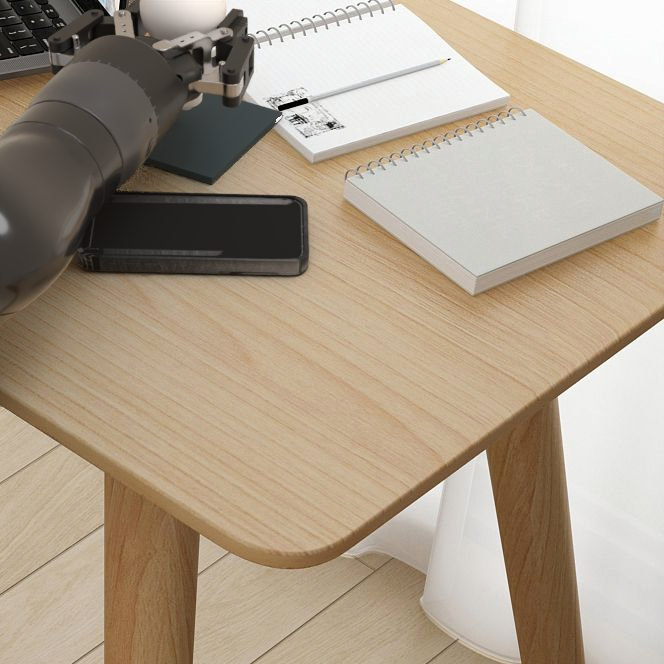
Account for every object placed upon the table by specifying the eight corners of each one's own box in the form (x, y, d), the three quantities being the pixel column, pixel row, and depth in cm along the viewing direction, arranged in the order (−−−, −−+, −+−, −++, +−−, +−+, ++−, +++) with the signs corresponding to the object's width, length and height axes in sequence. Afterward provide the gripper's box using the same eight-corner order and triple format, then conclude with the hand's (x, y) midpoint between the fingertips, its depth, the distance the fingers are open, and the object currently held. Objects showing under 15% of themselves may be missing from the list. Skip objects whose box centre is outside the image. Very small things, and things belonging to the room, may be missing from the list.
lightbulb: (226, 89, 93) (226, -50, 86) (226, 129, 88) (225, -15, 81) (147, 88, 92) (140, -52, 85) (141, 127, 87) (134, -17, 80)
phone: (89, 190, 82) (307, 195, 83) (90, 203, 83) (306, 208, 84) (74, 257, 76) (309, 262, 77) (75, 271, 77) (308, 276, 78)
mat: (83, 144, 89) (82, 137, 89) (161, 83, 97) (161, 77, 97) (212, 185, 86) (211, 177, 86) (282, 118, 94) (282, 111, 93)
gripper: (207, 84, 71) (291, -21, 84) (-13, 44, 74) (101, -52, 87) (209, 191, 76) (288, 77, 89) (2, 150, 79) (107, 44, 91)
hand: (195, 14), depth 88 cm, fingers closed on lightbulb, 6 cm apart
